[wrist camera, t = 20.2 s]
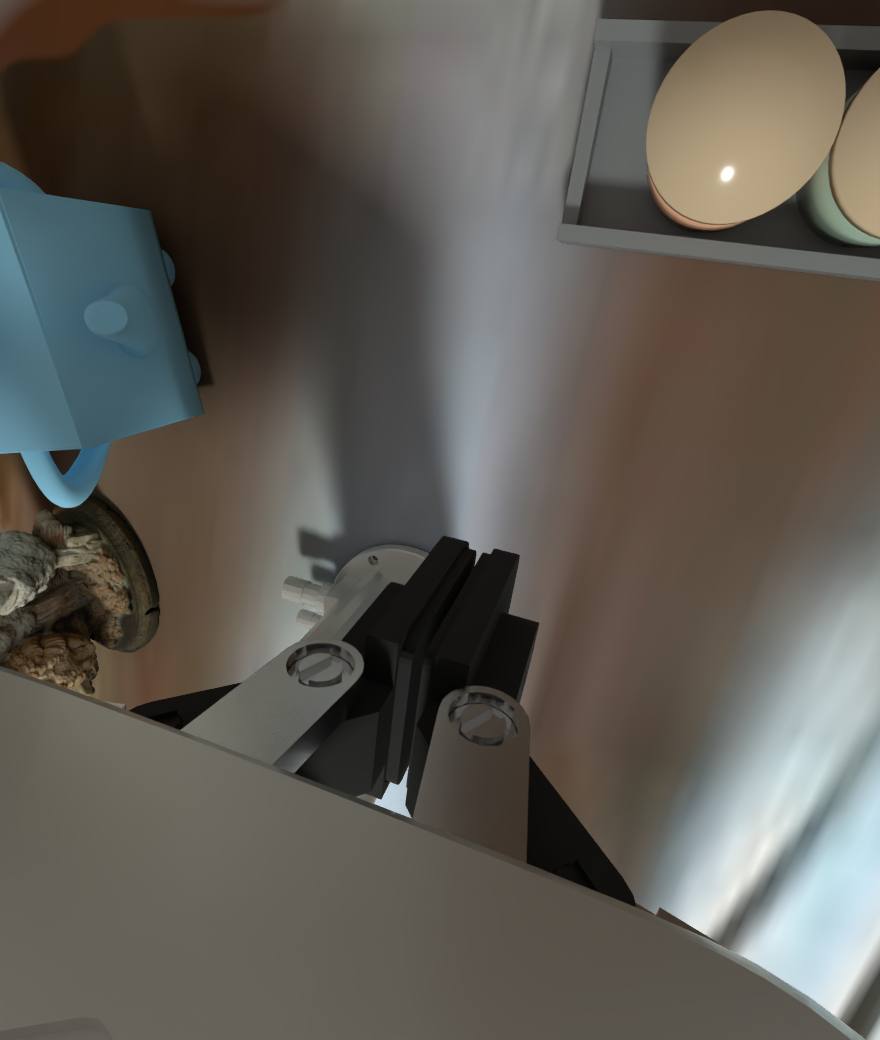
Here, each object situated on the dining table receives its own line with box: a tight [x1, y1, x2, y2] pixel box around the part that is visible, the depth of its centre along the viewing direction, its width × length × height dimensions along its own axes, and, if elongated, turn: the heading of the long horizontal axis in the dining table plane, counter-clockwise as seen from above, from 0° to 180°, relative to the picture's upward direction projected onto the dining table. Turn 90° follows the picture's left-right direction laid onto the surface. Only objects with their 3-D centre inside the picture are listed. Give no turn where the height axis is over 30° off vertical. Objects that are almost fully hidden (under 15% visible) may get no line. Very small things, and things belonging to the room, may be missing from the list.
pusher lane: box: [556, 19, 880, 282], centre depth 27 cm, size 22×9×4 cm, turn 83°
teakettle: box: [0, 162, 204, 508], centre depth 38 cm, size 19×19×15 cm
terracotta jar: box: [646, 10, 846, 233], centre depth 26 cm, size 7×7×7 cm
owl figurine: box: [0, 496, 160, 696], centre depth 49 cm, size 18×12×17 cm, turn 8°
